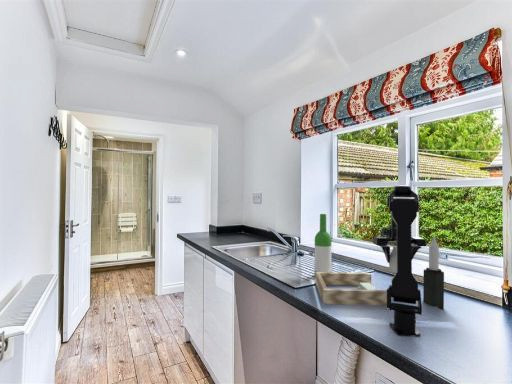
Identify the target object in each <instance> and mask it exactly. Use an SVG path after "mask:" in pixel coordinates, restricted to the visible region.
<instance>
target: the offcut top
mask: <svg viewBox="0 0 512 384" xmlns="http://www.w3.org/2000/svg"><path fill="white" fill-rule="evenodd" d="M358 287H359V288H360V289H362V290H379V289H378V288H376V287H375V286H374V285H373V284H372V283H371V284H370V283H359V285H358ZM359 288H358V289H359ZM360 289H359V290H360Z"/></svg>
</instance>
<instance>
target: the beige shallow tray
mask: <svg viewBox="0 0 512 384" xmlns="http://www.w3.org/2000/svg"><path fill="white" fill-rule="evenodd" d="M314 273H315V275H314V276H315V277H314V278H315V286H316V288H317V290H318V294H319V295H320V298H321V300H322V302H323V304H326V305H327V304H328V305H352V306H353V305H356V306H386V307H387V289H386V290H385V289H383V290H382V289H378V290H360V289H350V288H348V289H347V288H328V287H327V285H329V286H330V285H331V286H333V285H334V286H359V283H370V284H371V285H372V273H371V272H367V273H366V272H332V271H331V272H315V271H314Z"/></svg>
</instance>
